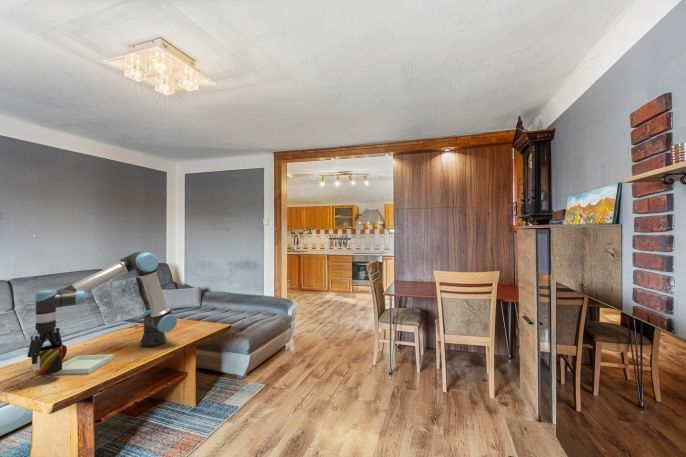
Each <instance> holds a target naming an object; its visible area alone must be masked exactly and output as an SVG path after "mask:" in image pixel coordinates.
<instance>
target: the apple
mask: <svg viewBox="0 0 686 457" xmlns="http://www.w3.org/2000/svg"><path fill="white" fill-rule="evenodd" d="M67 351H68V347H67V346H66V345H65V344H62V361H63V360H64V359H65V357H66V355H67Z"/></svg>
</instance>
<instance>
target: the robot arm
mask: <svg viewBox="0 0 686 457" xmlns="http://www.w3.org/2000/svg"><path fill="white" fill-rule="evenodd" d="M159 263H160V262H159V258H158V256H157V255H155V254H154V253H152V252H146V251H145V252H143V251H142V252H141V251H140V252H139V251H137V252H134V253H131V254H129V255H127V256H125V257H123V258H121V259H119V260H117V262H116V263H114V264H113V265H110V266H107V267H105V268H104V269H102V270H100V271H98V272H96V273H93V274H91V275H89V276H87V277H85V278H83V279H82V278H81V280H78V281H76V282H74V283H73V284H71V285H68V286H66V287H63V288H58V289H57V290H56V289H45V290H39V291H37V292H36V293H35V301H34V302H35V324H34V325H35V327H34V328H35V331H37V332H36V335H31V337H30V343H29V344H30V345H29V349H28V352H27V355H26V357H27V358H31V367H32V371H36V370H40V356H38V355H39V353H40V350H41V348H42V347H44V346H43V345H44V344H45V343H46V342H47V341H48V342H49V344H50V345H56V344H61V345H63V341H62V337H61V333H60V331H61V330H60V329H61V328H60V327H57V320H56V319H57V309H58V308H65V307H70V306H78V305H82V304H85V302H86V301H87V300H86V299H87V293H88V292H89V291H91V290H93V289H95V288H98V287H100V286H101V285H103V284H106V283H107V282H110V281H111V280H113V279H116V278H117V277H120V276H122V275H124V274H126V275H127V274H128V273H131V272H135V273H136V275H137V277H138V278H141V282H142V285H143V287H144V290H145V293H146V297H147V300H148V303H149V306H150V309H149V310H145V311H144V313H143V334H142V337H141V339H140V341H139V342H140V343H139V344H140V347H141V346H142V347H141V348H151V347H150V346H154V347H158V346H157V345H159V346H161V344H162V345H164V344H166V343H167V337H166V334H165V333H170V332H171V331H172V330H174V329H175V327H176V326H177V323H178V318H177V316H176V315H174V314H173V312H172V309H171V307H168V305H167V302H166V299H165V296H164V293H163V289H162V286H161V283H160V281H159V277H158V271H159V268H158V267H159V265H160V264H159ZM165 342H166V343H165ZM163 343H164V344H163Z"/></svg>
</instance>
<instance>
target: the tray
mask: <svg viewBox="0 0 686 457" xmlns="http://www.w3.org/2000/svg"><path fill="white" fill-rule="evenodd" d="M113 360H115V355H114V354H92V355H91V354H90V355H89V354H88V355H86V354H85V355H83V354H82V355H76V356H75V357H72V358H70V359H68V360H66V361H64V362H62V370H61V371H59V372H56V373H53V374H50V375H47V376H48V377H52V376H53V377H54V376H55V377H57V376H82V375H90V374H92V373H94V372H95V371H97V370H99V369H100V368H102V367H104V366H105V365H107V364H108V363H110V362H112V361H113Z"/></svg>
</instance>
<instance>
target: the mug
mask: <svg viewBox="0 0 686 457" xmlns="http://www.w3.org/2000/svg"><path fill="white" fill-rule="evenodd" d="M62 345H63V344H62ZM62 345H61V344H56V345H51V344H50V345H45V346H42V348H41V350H40V353H39V355H38V356H40V370H35V376H37V377H42V376H43V377H44V376H48V375H50V374H53V373H56V372H59V371H61V370H62V363H63V360H62Z"/></svg>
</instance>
